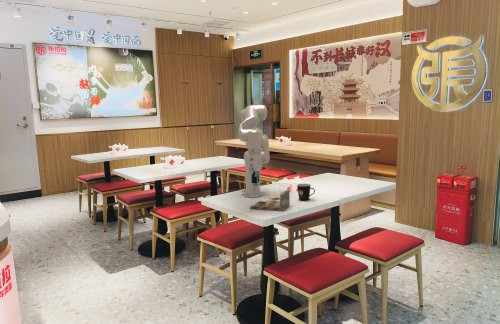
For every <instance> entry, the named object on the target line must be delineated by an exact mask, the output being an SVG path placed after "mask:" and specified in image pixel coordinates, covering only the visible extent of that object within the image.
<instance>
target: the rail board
mask: <svg viewBox="0 0 500 324" xmlns="http://www.w3.org/2000/svg"><path fill="white" fill-rule="evenodd" d="M279 197H280V208H279V207H266V201H261V200H258V201H257V202H256V203H254V204H253V205H250V207H249V209H250V210H260V211H271V212H273V211H274V212H285V211H286V210H287V209H288V208H289V207H291V206H290V204H291V202H290V199H291V198H290V197H291V196H290V189H285V190H284V191H282V192H281V193H280V194H279Z"/></svg>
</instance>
